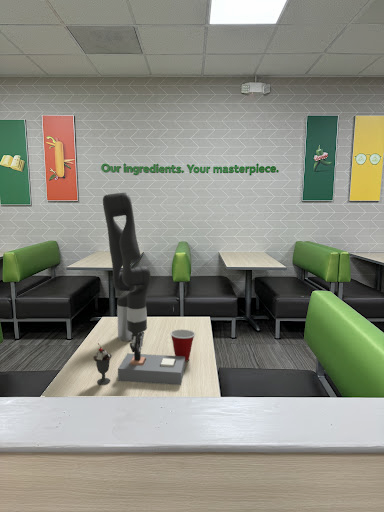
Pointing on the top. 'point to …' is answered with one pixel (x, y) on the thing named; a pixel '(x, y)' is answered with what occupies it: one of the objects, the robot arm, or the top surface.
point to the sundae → (102, 365)
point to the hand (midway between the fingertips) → (137, 359)
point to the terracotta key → (140, 362)
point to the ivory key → (168, 362)
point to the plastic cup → (182, 342)
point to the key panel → (152, 370)
